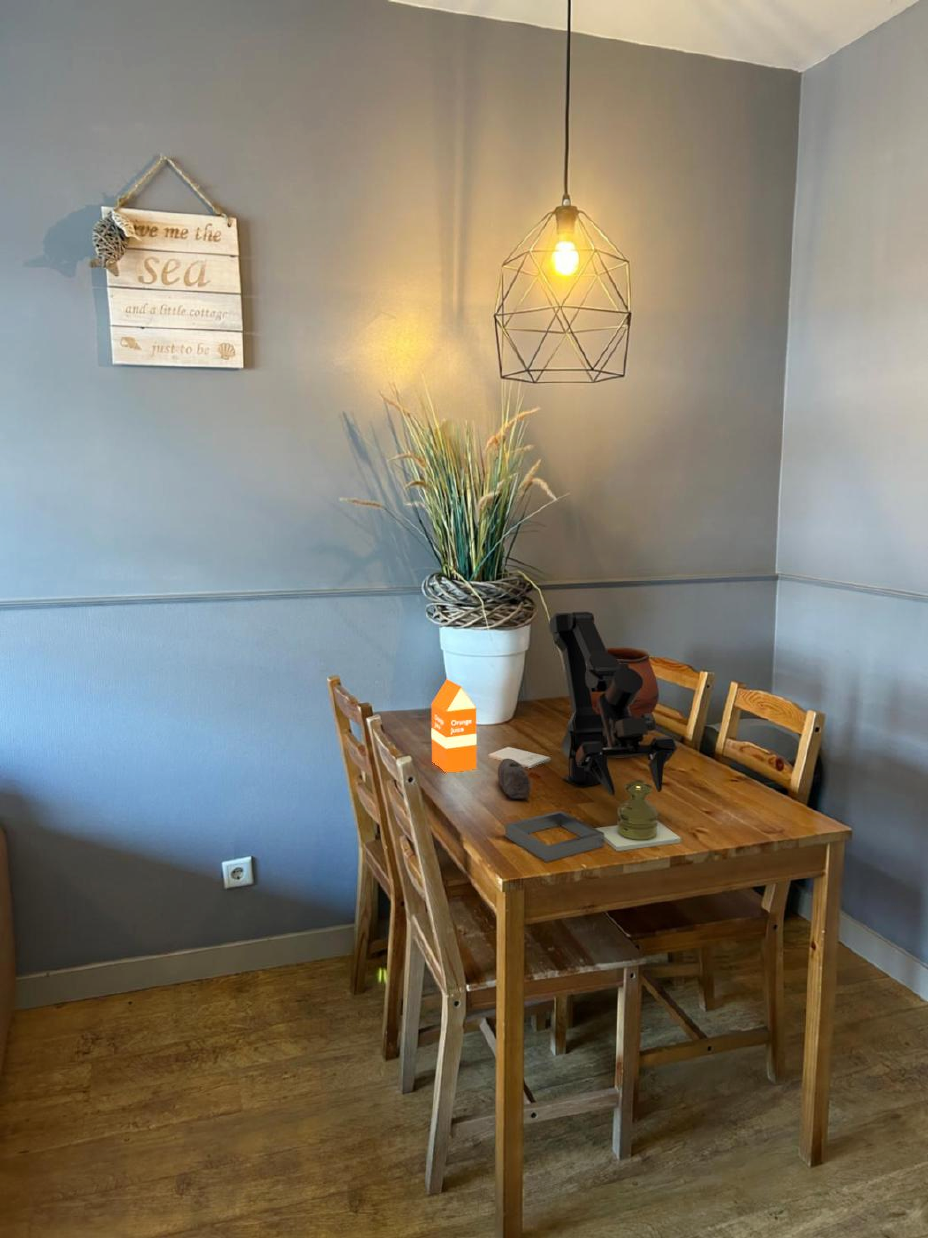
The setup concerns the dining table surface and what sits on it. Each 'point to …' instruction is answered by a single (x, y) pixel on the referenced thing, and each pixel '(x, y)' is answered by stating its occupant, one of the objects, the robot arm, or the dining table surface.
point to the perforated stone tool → (513, 779)
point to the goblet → (649, 690)
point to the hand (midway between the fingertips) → (636, 793)
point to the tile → (624, 843)
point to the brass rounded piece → (637, 813)
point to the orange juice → (453, 729)
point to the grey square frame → (585, 842)
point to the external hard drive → (520, 757)
